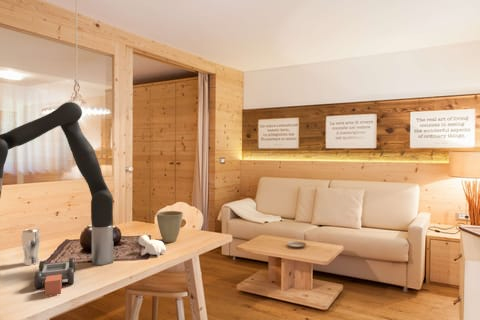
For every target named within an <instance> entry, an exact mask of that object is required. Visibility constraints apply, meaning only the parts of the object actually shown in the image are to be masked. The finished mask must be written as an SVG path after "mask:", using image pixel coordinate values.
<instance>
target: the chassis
mask: <svg viewBox="0 0 480 320" xmlns="http://www.w3.org/2000/svg"><path fill="white" fill-rule="evenodd" d="M68 259H69V260H68V261H67V260H66V261H57V262H50V263H49V262H48V263H47V261H46V260H39V263H38V264H39V265H38V271H35V273H34V289H40V288H42V287H43V283H45V280H46V276H51V275H60V274H62V281H63V280H67V284H68V285H70V284H75V272H76V271H75V270H76V258H75V257H69V258H68Z"/></svg>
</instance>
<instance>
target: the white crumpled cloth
mask: <svg viewBox="0 0 480 320" xmlns="http://www.w3.org/2000/svg"><path fill="white" fill-rule="evenodd" d="M137 242H138V244H139V245H140V246H142V247H144V249H143V251H141V253H140V254H141V256H144V255H147V254H149V255H154V256H155V255H156V256H157V258H159V257H160V255H161V254H163V255H165V254H166V251H167V248H166V246H165V242H164V241H163V240H162V241H161V240H158V239H157V240H156V239H150V236H149V235H144V234H143V235H140V236H139V238H138V241H137Z"/></svg>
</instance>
